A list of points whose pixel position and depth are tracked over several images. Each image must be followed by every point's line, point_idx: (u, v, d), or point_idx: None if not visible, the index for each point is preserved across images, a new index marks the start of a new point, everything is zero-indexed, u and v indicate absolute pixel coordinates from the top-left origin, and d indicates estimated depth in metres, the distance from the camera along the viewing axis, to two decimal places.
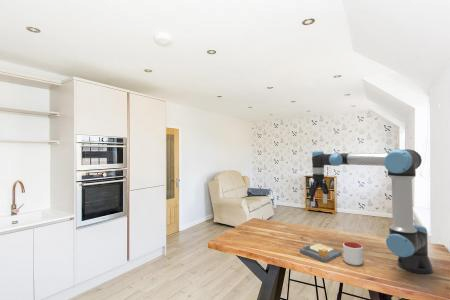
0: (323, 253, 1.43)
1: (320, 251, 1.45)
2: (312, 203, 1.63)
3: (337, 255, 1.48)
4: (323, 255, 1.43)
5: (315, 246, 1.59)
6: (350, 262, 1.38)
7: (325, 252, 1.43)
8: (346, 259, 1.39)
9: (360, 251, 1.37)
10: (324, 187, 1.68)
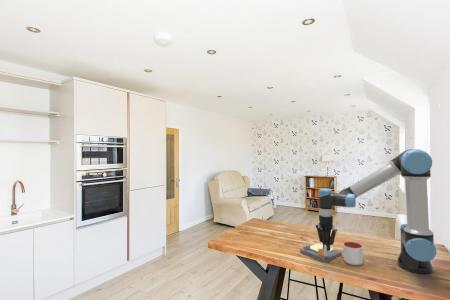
0: (323, 253, 1.43)
1: (320, 251, 1.45)
2: None
3: (337, 255, 1.48)
4: (323, 255, 1.43)
5: (315, 246, 1.59)
6: (350, 262, 1.38)
7: None
8: (346, 259, 1.39)
9: (360, 251, 1.37)
10: (327, 235, 1.41)
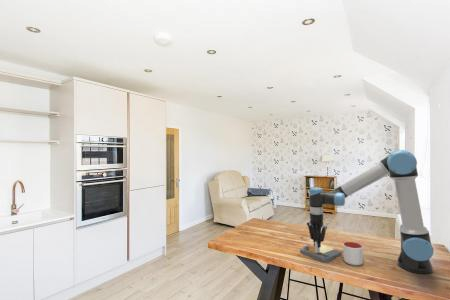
0: (313, 249, 1.48)
1: (311, 248, 1.50)
2: None
3: (337, 255, 1.48)
4: (313, 251, 1.48)
5: None
6: (350, 262, 1.38)
7: None
8: (346, 259, 1.39)
9: (360, 251, 1.37)
10: (318, 232, 1.46)
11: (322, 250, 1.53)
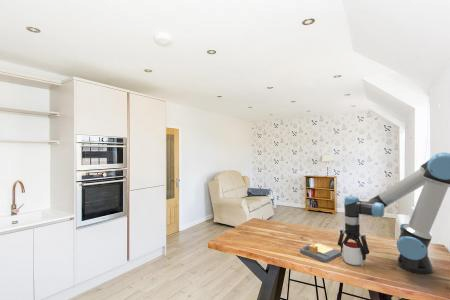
0: (313, 249, 1.49)
1: (310, 247, 1.50)
2: None
3: (337, 255, 1.48)
4: (313, 251, 1.49)
5: None
6: (350, 262, 1.38)
7: (315, 248, 1.48)
8: (346, 259, 1.39)
9: (360, 251, 1.37)
10: (358, 243, 1.37)
11: (322, 250, 1.53)
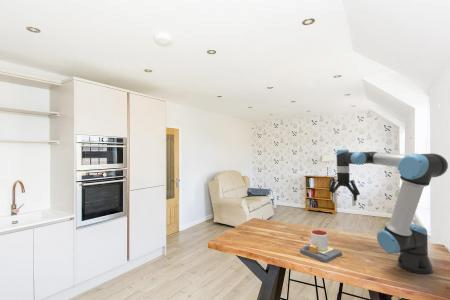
0: (313, 249, 1.49)
1: (310, 247, 1.50)
2: None
3: (337, 255, 1.48)
4: (313, 251, 1.49)
5: None
6: None
7: (315, 248, 1.48)
8: None
9: (325, 238, 1.52)
10: (349, 187, 1.59)
11: None
